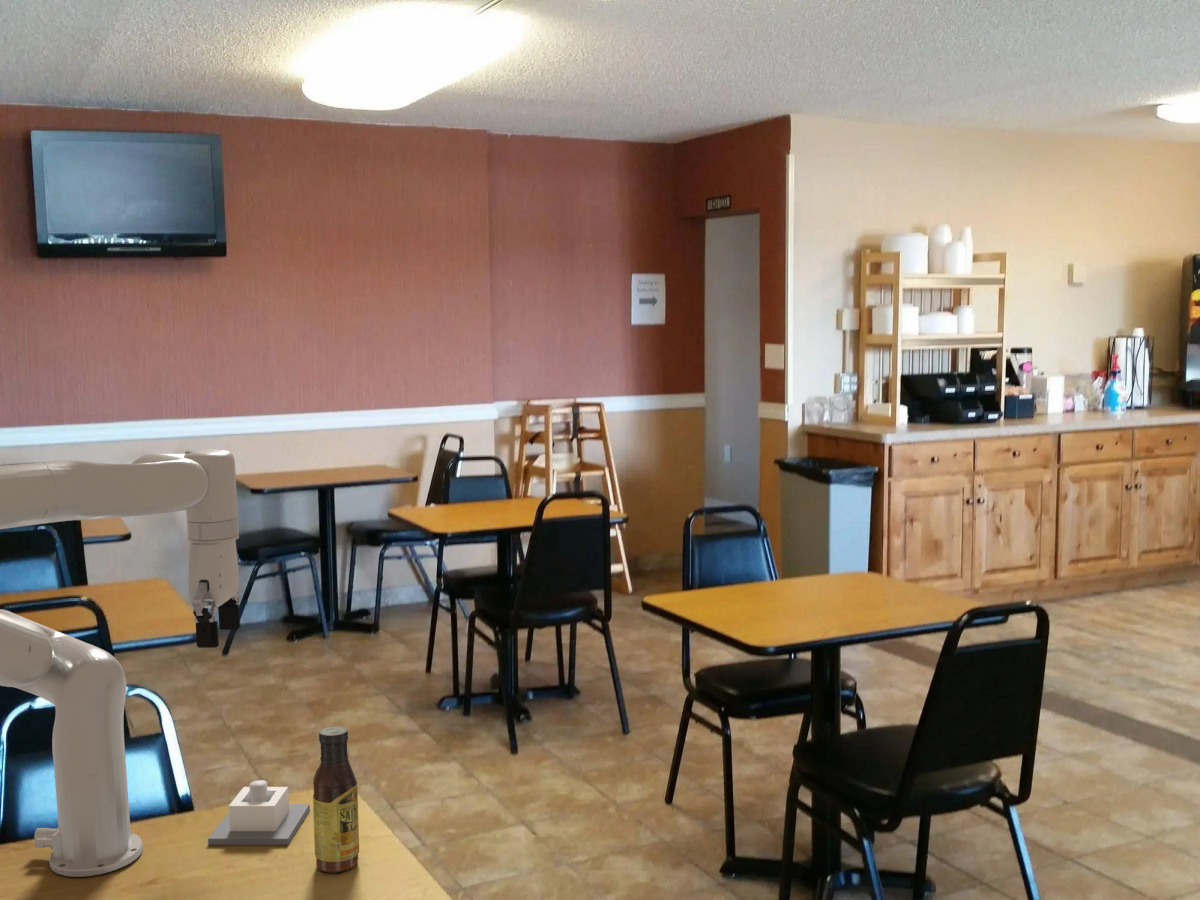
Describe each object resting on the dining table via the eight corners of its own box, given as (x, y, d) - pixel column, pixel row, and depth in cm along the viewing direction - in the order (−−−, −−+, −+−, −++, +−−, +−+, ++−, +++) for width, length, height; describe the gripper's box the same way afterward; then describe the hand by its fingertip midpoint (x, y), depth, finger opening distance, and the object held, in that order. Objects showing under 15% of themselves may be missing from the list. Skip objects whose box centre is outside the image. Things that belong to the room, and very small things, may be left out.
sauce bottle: (349, 877, 166) (343, 741, 164) (307, 873, 167) (301, 738, 165) (367, 855, 173) (362, 724, 170) (327, 852, 174) (321, 722, 171)
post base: (208, 845, 177) (205, 800, 176) (235, 810, 188) (232, 768, 188) (288, 845, 176) (285, 800, 175) (309, 810, 188) (307, 768, 187)
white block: (230, 831, 179) (228, 805, 178) (245, 811, 186) (243, 786, 185) (275, 831, 179) (274, 805, 178) (289, 811, 186) (288, 786, 185)
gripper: (209, 519, 191) (214, 622, 194) (167, 542, 174) (174, 654, 176) (255, 519, 191) (260, 622, 193) (217, 541, 174) (223, 654, 176)
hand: (219, 637), depth 185 cm, fingers open, 9 cm apart
